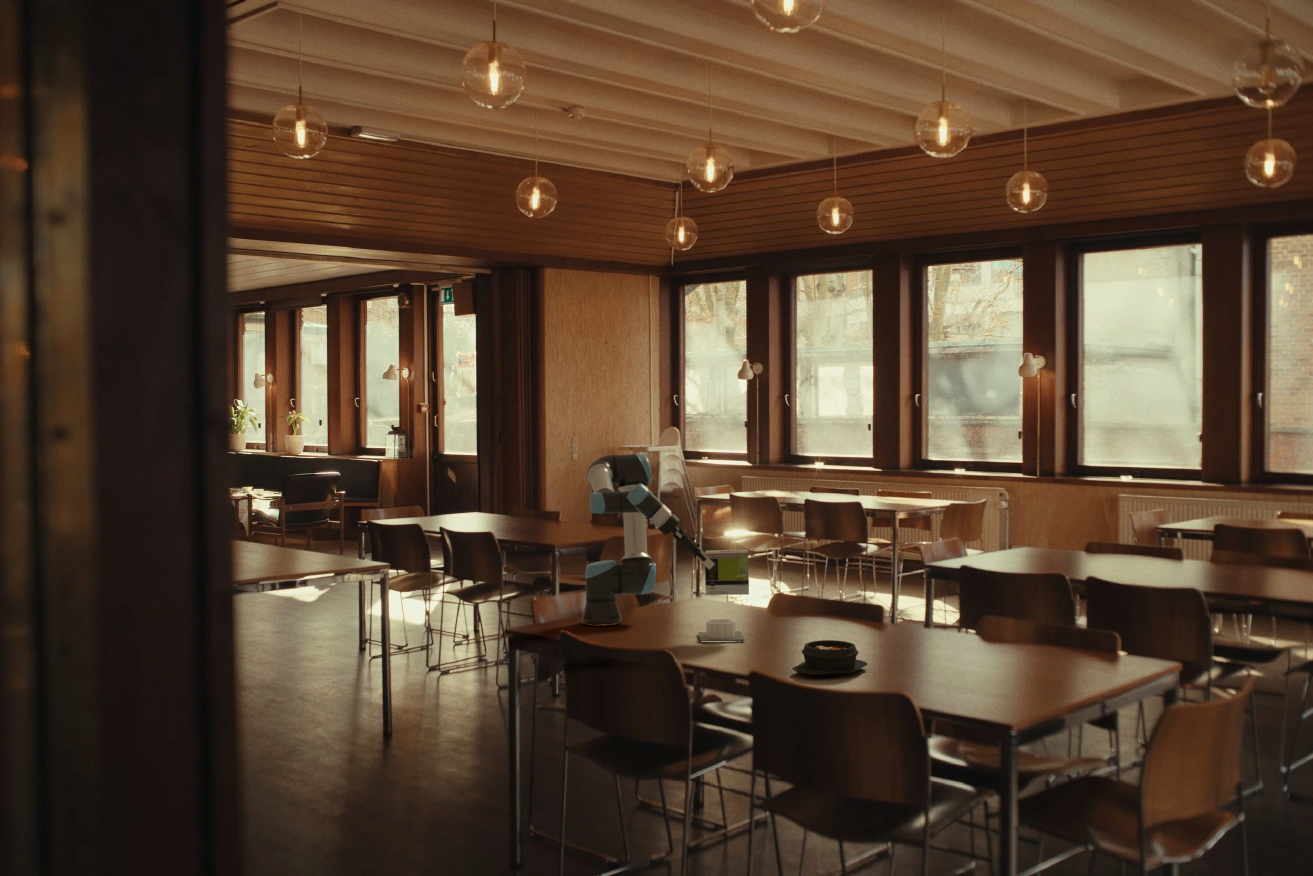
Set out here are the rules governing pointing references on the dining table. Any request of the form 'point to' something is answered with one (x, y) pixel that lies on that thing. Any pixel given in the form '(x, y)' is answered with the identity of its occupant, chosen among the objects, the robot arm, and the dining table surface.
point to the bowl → (720, 631)
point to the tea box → (727, 572)
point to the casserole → (829, 658)
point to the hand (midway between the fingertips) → (710, 564)
